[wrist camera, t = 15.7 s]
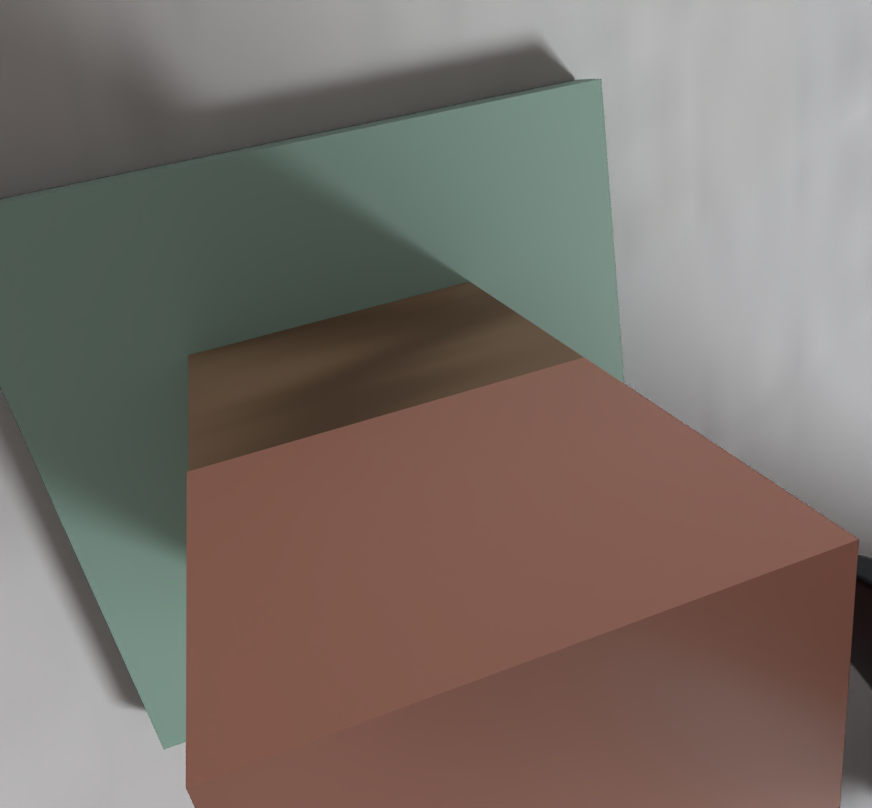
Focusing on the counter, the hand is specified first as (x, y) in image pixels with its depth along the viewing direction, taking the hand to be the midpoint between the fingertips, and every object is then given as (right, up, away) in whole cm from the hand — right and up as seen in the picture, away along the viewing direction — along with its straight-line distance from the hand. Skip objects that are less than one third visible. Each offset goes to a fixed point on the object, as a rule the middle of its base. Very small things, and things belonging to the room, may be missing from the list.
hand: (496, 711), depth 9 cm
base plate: (-3, +3, +8) cm, 9 cm away
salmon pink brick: (-1, +1, +3) cm, 3 cm away
